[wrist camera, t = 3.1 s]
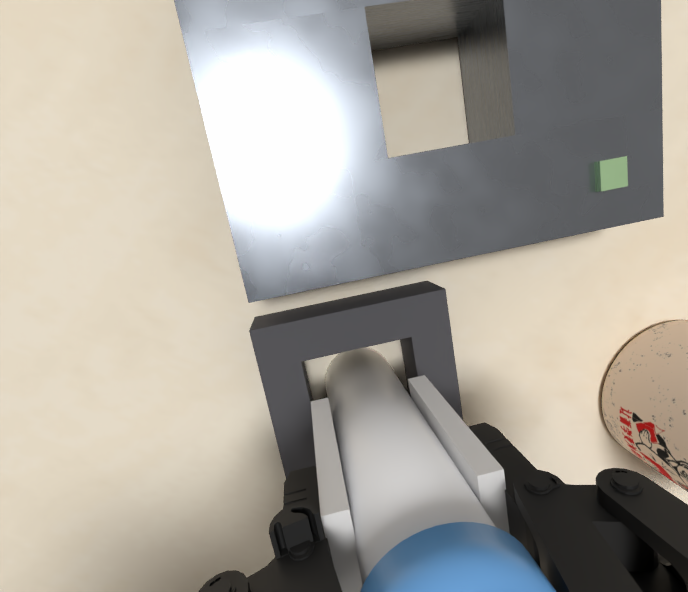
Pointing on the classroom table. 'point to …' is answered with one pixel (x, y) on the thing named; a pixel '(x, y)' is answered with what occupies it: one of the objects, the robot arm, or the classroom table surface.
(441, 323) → the frame
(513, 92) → the port panel
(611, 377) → the teacup with lid
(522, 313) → the classroom table surface
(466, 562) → the plug
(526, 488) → the robot arm
